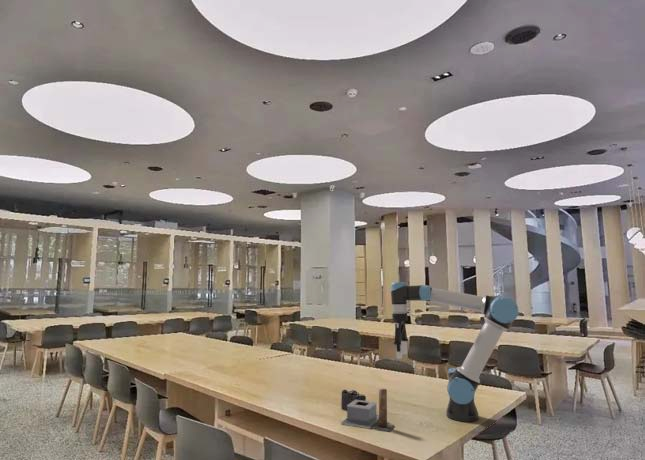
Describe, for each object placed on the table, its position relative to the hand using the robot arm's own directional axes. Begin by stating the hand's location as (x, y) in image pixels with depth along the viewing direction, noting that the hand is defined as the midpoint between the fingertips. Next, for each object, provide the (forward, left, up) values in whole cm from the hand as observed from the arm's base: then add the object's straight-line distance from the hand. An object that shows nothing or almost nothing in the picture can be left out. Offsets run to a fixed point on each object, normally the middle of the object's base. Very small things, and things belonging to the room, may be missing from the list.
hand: (402, 356), depth 200 cm
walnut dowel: (+6, +16, -29) cm, 33 cm away
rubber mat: (+5, +16, -30) cm, 34 cm away
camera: (+26, -4, -30) cm, 40 cm away
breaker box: (+17, +11, -30) cm, 36 cm away
